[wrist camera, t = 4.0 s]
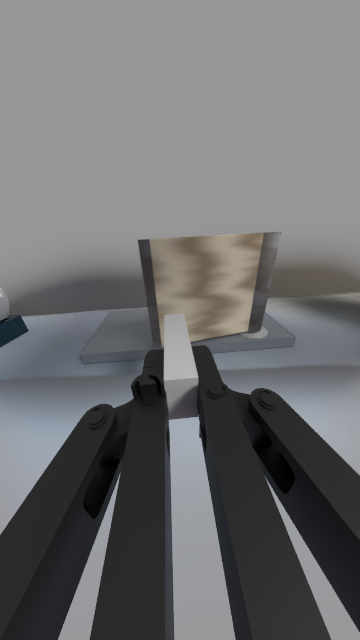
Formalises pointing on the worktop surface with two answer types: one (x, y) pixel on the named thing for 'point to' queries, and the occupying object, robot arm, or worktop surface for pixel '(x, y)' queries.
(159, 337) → the beige upright panel
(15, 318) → the watch
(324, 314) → the worktop surface
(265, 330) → the grey rectangular base plate
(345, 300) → the worktop surface
